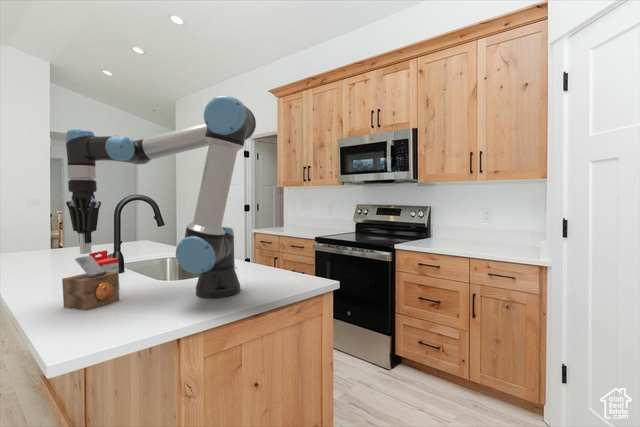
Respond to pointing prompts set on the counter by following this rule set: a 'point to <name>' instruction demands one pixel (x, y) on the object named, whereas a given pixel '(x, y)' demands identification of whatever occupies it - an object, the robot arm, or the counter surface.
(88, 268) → the plate
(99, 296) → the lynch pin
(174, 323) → the counter surface
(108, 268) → the ink box
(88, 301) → the block
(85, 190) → the robot arm
